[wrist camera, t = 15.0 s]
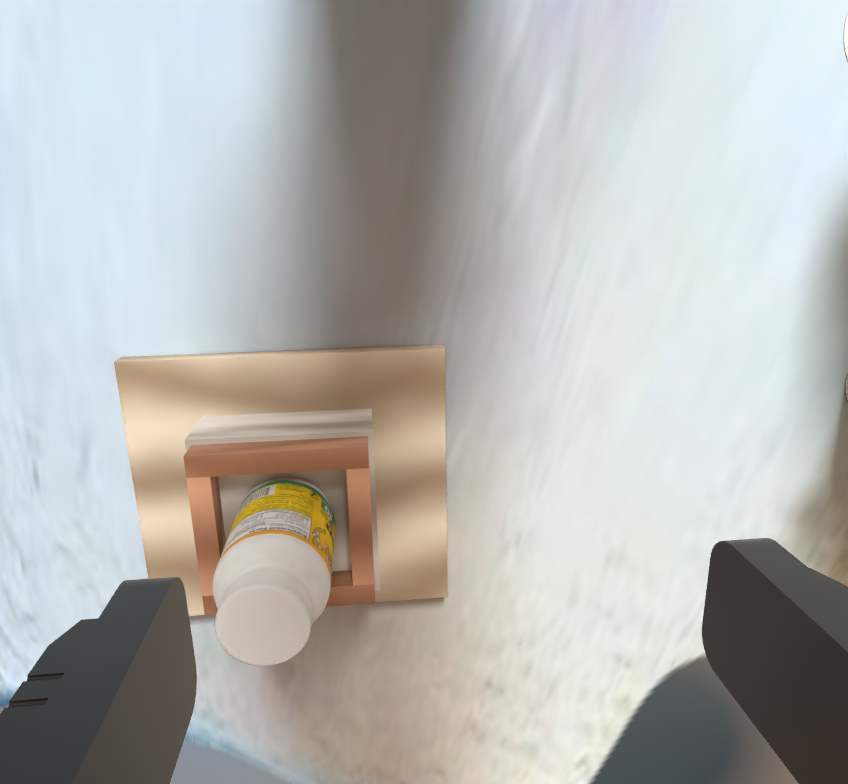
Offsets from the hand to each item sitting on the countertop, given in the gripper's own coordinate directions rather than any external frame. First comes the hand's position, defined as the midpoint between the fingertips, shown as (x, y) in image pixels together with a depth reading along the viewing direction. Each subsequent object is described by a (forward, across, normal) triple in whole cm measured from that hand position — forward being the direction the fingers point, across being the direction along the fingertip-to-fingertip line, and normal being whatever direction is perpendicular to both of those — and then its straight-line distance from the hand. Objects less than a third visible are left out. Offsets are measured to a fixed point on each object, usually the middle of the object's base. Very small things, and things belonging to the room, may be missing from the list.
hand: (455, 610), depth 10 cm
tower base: (+30, +6, +11) cm, 33 cm away
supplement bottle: (+25, +6, +11) cm, 28 cm away
